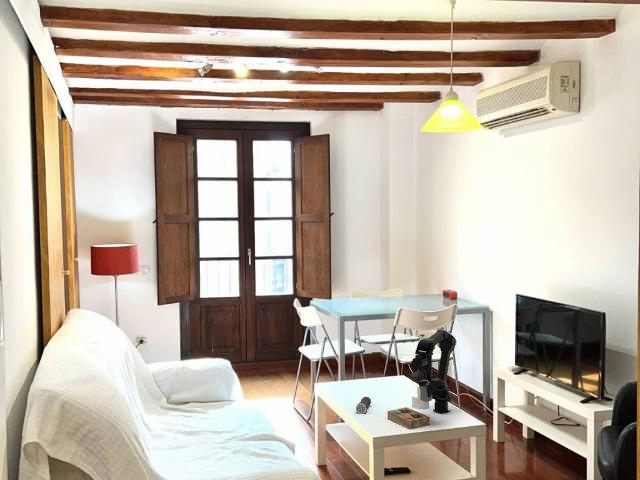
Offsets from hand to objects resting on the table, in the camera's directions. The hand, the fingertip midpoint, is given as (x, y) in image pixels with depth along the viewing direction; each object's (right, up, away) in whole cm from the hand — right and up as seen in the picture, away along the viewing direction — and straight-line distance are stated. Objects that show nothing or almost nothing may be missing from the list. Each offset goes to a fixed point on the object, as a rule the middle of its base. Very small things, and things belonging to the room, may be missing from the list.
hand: (426, 396), depth 321 cm
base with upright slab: (+1, -11, +23) cm, 26 cm away
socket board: (-9, -12, -1) cm, 15 cm away
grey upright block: (0, -2, 0) cm, 2 cm away
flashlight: (-30, -12, +19) cm, 37 cm away
